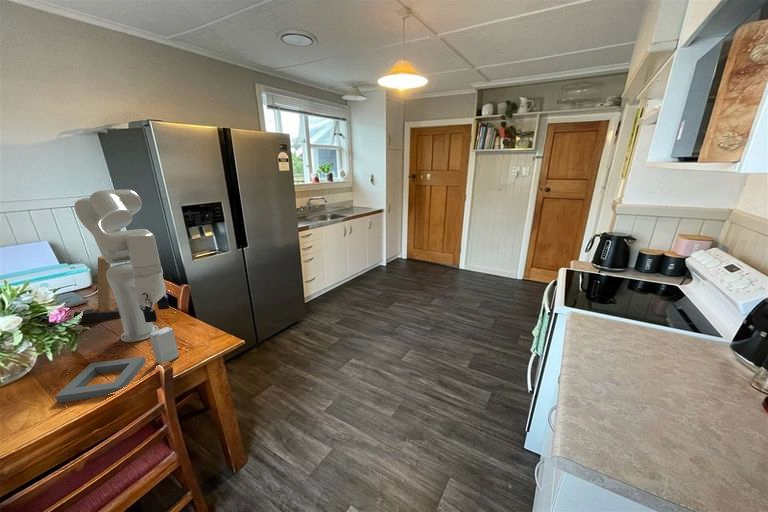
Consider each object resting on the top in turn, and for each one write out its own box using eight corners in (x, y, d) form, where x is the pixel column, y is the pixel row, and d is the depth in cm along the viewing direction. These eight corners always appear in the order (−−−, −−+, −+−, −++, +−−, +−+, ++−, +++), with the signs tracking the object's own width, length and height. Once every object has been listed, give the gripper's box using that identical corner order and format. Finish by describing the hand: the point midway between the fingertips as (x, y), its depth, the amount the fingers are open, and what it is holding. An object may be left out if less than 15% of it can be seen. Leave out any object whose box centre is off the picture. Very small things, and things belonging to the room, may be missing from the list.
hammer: (134, 314, 145) (135, 256, 139) (132, 319, 141) (133, 259, 135) (76, 318, 133) (75, 254, 128) (73, 323, 129) (71, 257, 124)
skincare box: (172, 353, 113) (166, 325, 109) (180, 356, 111) (174, 328, 107) (155, 362, 107) (148, 333, 104) (162, 366, 106) (155, 336, 102)
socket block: (92, 369, 103) (90, 363, 102) (145, 362, 107) (144, 356, 107) (57, 403, 88) (55, 396, 88) (121, 393, 93) (119, 387, 92)
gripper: (147, 262, 106) (157, 305, 110) (119, 279, 90) (132, 328, 94) (170, 261, 108) (179, 303, 112) (148, 276, 92) (159, 325, 96)
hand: (158, 315), depth 103 cm, fingers open, 9 cm apart
